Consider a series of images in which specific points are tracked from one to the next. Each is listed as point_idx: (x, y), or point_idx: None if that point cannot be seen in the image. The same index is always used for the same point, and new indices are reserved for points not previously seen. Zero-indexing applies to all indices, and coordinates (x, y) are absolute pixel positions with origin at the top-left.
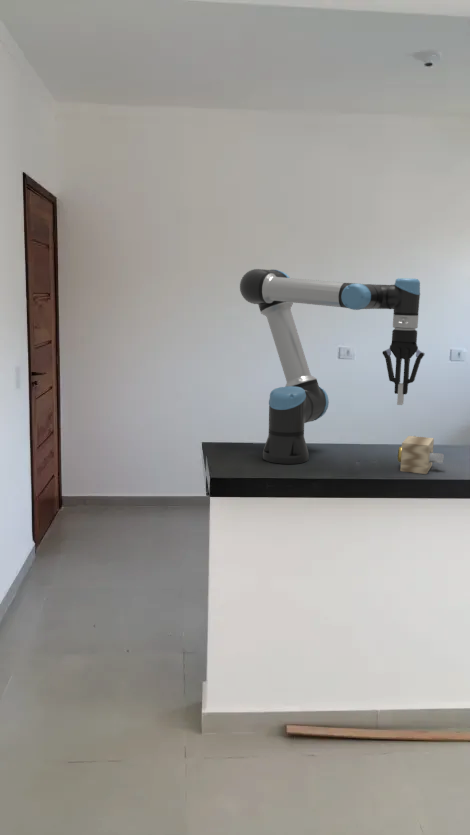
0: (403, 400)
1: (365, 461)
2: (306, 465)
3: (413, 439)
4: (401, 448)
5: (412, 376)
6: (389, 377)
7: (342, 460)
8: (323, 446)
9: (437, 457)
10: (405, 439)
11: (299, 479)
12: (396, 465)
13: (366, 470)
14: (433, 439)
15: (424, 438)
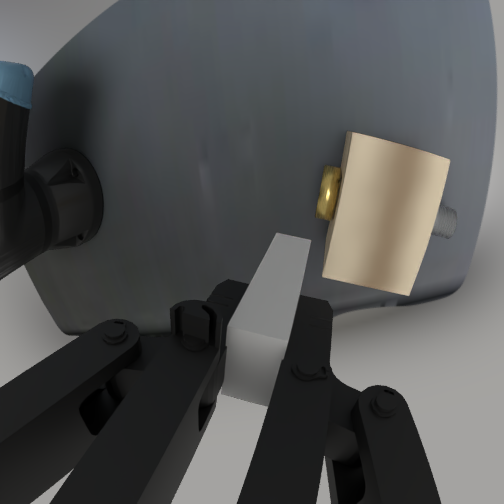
0: (308, 251)
1: (223, 150)
2: (113, 238)
3: (370, 203)
4: (325, 212)
5: (354, 499)
6: (103, 400)
7: (165, 162)
8: (106, 34)
9: (435, 235)
10: (338, 211)
11: None
12: (315, 173)
13: (237, 250)
14: (447, 170)
15: (415, 172)
